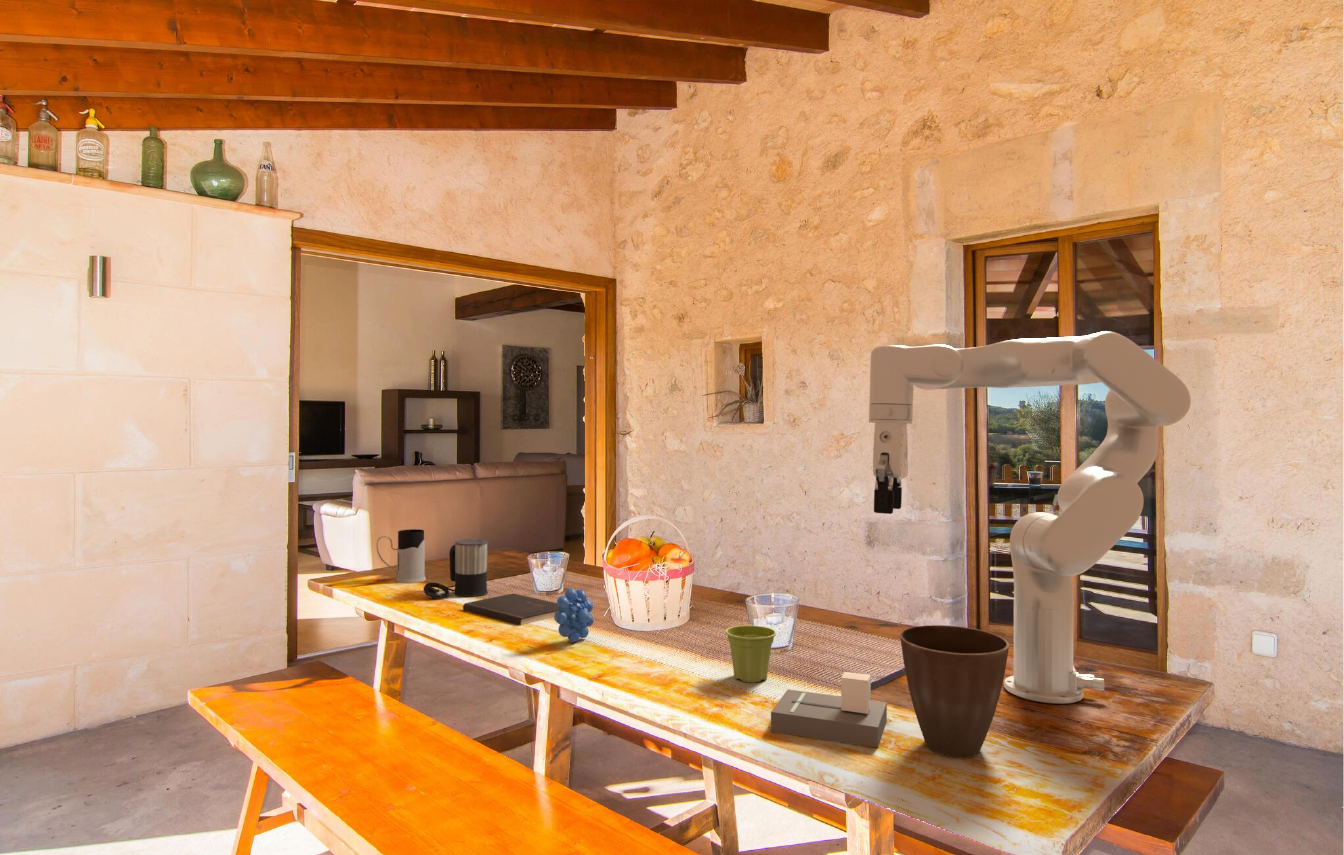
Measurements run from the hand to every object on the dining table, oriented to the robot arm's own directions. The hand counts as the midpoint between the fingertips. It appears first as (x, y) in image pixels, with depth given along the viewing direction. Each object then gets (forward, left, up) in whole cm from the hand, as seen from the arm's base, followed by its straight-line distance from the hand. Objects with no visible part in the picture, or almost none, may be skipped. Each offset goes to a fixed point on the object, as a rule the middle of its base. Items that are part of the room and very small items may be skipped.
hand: (887, 510), depth 138 cm
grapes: (+65, -5, -32) cm, 73 cm away
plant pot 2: (-12, +23, -32) cm, 41 cm away
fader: (+2, +21, -29) cm, 36 cm away
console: (+6, +21, -32) cm, 39 cm away
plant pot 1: (+24, +3, -32) cm, 40 cm away
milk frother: (+119, -33, -32) cm, 128 cm away
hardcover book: (+93, -24, -33) cm, 102 cm away
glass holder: (+147, -44, -32) cm, 157 cm away
